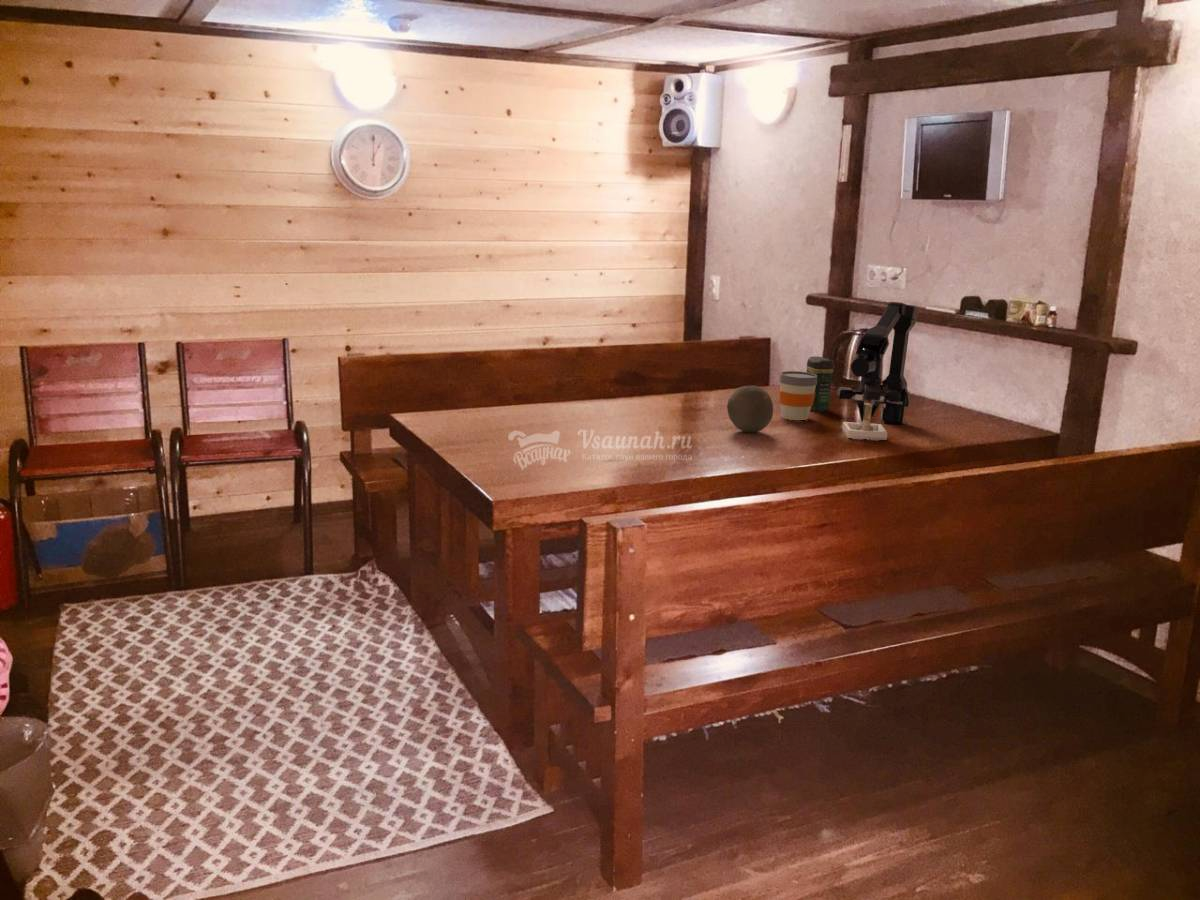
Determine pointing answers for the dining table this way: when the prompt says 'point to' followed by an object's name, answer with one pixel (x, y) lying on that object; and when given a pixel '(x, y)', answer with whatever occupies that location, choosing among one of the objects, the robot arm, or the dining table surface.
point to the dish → (856, 432)
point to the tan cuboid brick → (866, 416)
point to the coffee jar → (821, 381)
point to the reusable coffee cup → (796, 394)
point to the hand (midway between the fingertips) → (865, 421)
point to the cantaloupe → (750, 408)
